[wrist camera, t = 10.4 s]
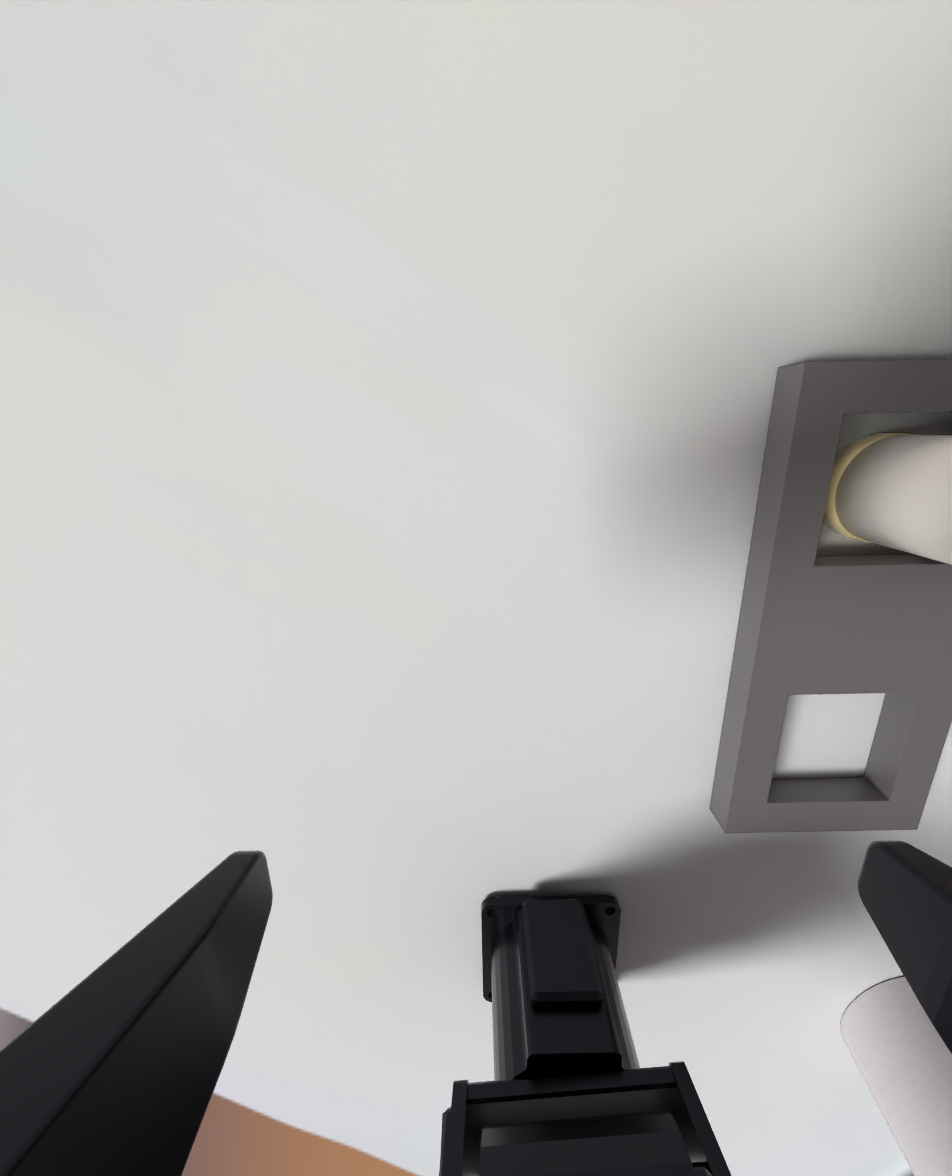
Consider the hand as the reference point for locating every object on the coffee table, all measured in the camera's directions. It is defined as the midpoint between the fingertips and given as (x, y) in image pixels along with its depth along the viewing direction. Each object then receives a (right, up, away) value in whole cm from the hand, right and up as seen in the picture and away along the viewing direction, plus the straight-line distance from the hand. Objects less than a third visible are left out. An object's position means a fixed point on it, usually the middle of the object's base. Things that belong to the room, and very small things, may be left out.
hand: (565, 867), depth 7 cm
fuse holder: (+13, +3, +12) cm, 18 cm away
